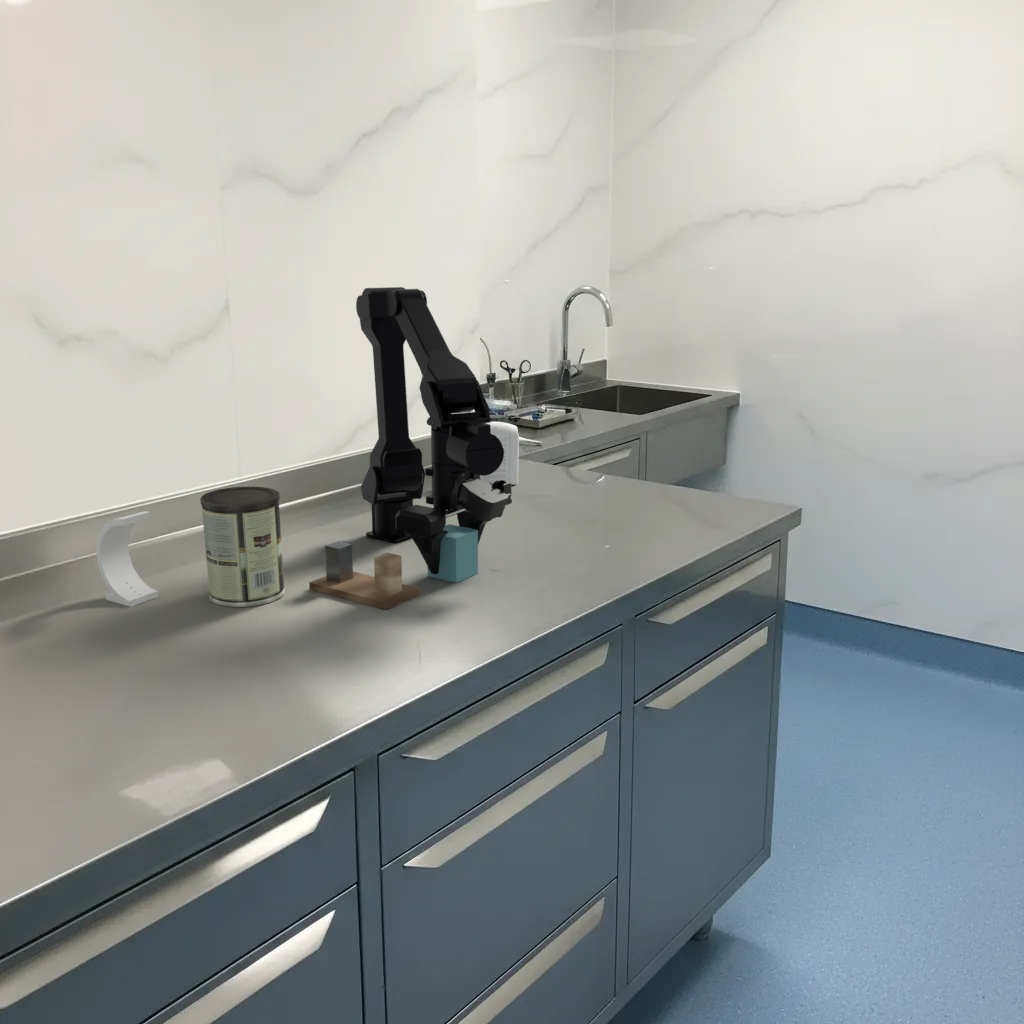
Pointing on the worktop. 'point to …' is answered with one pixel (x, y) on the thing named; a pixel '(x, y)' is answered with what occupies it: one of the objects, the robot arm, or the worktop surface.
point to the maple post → (388, 574)
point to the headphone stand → (121, 562)
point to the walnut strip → (363, 591)
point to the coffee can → (243, 546)
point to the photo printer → (505, 453)
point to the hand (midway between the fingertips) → (452, 566)
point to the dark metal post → (339, 562)
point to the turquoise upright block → (458, 554)
